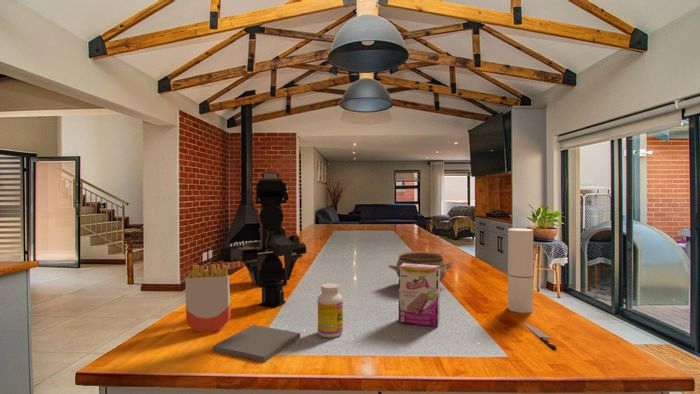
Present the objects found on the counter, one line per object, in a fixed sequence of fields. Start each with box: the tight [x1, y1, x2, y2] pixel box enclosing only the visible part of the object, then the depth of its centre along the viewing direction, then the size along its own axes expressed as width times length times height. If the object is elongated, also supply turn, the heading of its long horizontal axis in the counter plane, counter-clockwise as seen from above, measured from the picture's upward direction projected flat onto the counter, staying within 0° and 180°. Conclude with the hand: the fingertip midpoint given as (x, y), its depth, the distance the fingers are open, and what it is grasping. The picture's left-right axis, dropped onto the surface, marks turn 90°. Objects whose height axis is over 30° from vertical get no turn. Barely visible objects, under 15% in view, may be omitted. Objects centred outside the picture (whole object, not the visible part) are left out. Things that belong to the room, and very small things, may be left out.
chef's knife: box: [522, 322, 557, 351], centre depth 100 cm, size 19×1×3 cm
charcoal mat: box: [212, 324, 301, 363], centre depth 95 cm, size 15×15×1 cm
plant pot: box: [242, 241, 266, 286], centre depth 154 cm, size 15×15×16 cm
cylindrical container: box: [507, 227, 534, 314], centre depth 119 cm, size 7×7×25 cm
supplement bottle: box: [317, 282, 344, 339], centre depth 101 cm, size 7×7×13 cm
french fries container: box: [184, 264, 232, 333], centre depth 105 cm, size 5×11×18 cm, turn 99°
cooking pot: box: [388, 250, 453, 283], centre depth 147 cm, size 25×19×12 cm
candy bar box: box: [398, 263, 441, 328], centre depth 108 cm, size 11×5×16 cm, turn 71°
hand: (272, 282), depth 103 cm, fingers open, 9 cm apart
